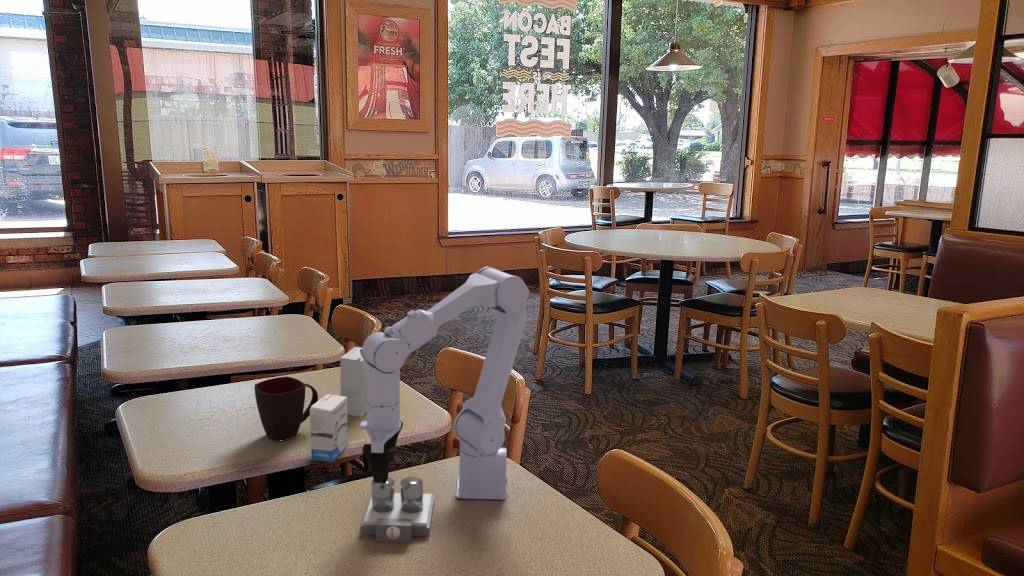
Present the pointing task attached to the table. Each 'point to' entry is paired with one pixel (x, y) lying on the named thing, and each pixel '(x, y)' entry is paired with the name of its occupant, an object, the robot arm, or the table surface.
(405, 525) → the scale
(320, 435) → the ink box
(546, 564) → the table surface
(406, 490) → the cylinder
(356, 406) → the skincare box
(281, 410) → the cup
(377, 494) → the cylinder
